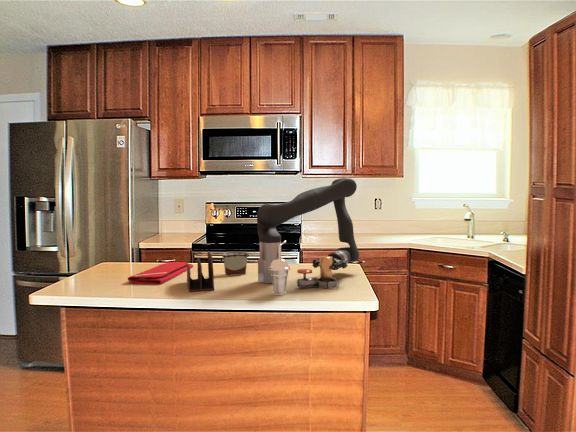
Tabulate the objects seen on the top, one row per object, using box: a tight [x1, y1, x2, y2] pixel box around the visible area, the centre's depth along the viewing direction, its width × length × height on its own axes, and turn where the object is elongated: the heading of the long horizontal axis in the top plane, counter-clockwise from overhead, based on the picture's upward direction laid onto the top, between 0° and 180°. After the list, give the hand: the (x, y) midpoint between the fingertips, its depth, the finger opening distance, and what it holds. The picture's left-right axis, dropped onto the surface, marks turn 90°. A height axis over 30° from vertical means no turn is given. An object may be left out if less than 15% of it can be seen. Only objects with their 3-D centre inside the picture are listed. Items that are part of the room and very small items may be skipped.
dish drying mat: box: [127, 261, 194, 286], centre depth 230 cm, size 16×41×4 cm, turn 172°
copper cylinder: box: [319, 255, 333, 282], centre depth 206 cm, size 5×5×12 cm
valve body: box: [296, 268, 338, 290], centre depth 204 cm, size 18×9×7 cm, turn 116°
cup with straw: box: [268, 240, 291, 296], centre depth 192 cm, size 8×9×20 cm
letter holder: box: [186, 250, 215, 293], centre depth 205 cm, size 10×20×14 cm, turn 13°
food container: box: [222, 251, 249, 276], centre depth 232 cm, size 12×6×10 cm, turn 108°
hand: (324, 266), depth 204 cm, fingers open, 8 cm apart
